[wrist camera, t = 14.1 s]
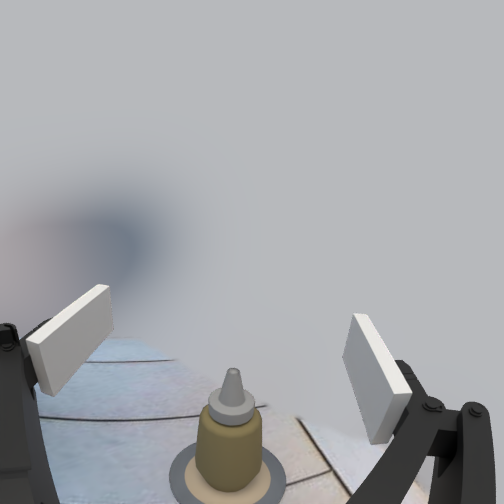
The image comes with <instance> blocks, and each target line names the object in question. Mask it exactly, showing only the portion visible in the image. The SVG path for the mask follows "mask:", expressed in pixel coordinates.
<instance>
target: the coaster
mask: <svg viewBox="0 0 504 504" xmlns="http://www.w3.org/2000/svg"><path fill="white" fill-rule="evenodd" d="M196 444H197V442H196V443H194V444H192V445H190V446H188V447H187V448H185V449H184V450H182V451H181V452H180V453H179V454H178V455H177V457H176V458H175V459H174V461H173V463H172V465H171V468H170V473H169V481H170V486H171V490H172V492H173V495H174V496H175V498H176V500H177V501H178V502H179V504H278V503H279V502H280V500H281V498H282V496H283V494H284V491H285V486H286V476H285V472H284V469H283V467H282V465H281V463H280V462H279V460H278V459H277V458H276V457H275V456H274V455H273V454H272V453H271V452H270V451H268V450H267V449H265V448H264V447H262V465H261V469H260V472H259V473H258V474H257V475H256V476H255V478H254V479H253V480H252V481H251V482H250V483H249V484H248V485H247V486H246V487H245V488H243V489H241V490H239V491H236V492H222V491H218V490H216V489H214V488H213V487H211V486H210V485H209V484H208V483H207V481H206V480H205V479H204V478H203V476H202V475H201V474H200V472H199V471H198V469H197V468H196V463H195V453H196Z"/></svg>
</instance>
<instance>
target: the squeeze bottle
mask: <svg viewBox="0 0 504 504" xmlns="http://www.w3.org/2000/svg"><path fill="white" fill-rule="evenodd" d="M195 463H196V468H197V469H198V471H199V472H200V474H201V475H202V476H203V478H204V479H205V480H206V481H207V483H208V484H209V485H210V486H211V487H213V488H214V489H216V490H218V491H222V492H236V491H239V490H241V489H243V488H245V487H246V486H247V485H248V484H249V483H250V482H251V481H252V480H253V479H254V478H255V476H256V475H257V474H258V473H259V472H260V469H261V465H262V418H261V415H260V412H259V411H258V410H257V409H256V408H255V400H254V397H253V396H252V395H251V394H250V393H249V392H248V391H246V390H244V389H243V386H242V381H241V376H240V371H239V370H238V369H236V368H230V369H228V371H227V374H226V377H225V380H224V383H223V386H222V388H219V389H216V390H215V391H214V392H212V393H211V395H210V397H209V404H208V405H206V406H205V407H204V408H203V410H202V412H201V414H200V418H199V426H198V435H197V444H196V453H195Z"/></svg>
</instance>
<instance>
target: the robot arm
mask: <svg viewBox="0 0 504 504" xmlns="http://www.w3.org/2000/svg"><path fill="white" fill-rule="evenodd" d="M113 330H114V328H113V319H112V308H111V297H110V286H106V285H101V284H98V285H96V286H95V287H94V288H92V289H91V290H89V291H88V292H87V293H85V294H84V295H83V296H81V297H80V298H79V299H77V300H76V301H75V302H73V303H72V304H71V305H70V306H68V307H67V308H65V309H64V310H63V311H61V312H60V313H59V314H58V315H56V316H55V317H54V318H50V319H48V320H46V321H43V322H42V323H41V324H39V325H38V327H36V328H34V329H33V331H30V332H29V333H28V334H26V335H25V336H24V337H23V338H21V339H20V340H19V337H18V333H17V329H16V326H15V325H13V324H10V323H3V324H0V504H60V502H59V499H58V496H57V493H56V489H55V486H54V483H53V479H52V475H51V472H50V468H49V464H48V460H47V455H46V451H45V446H44V441H43V436H42V431H41V426H40V420H39V413H38V407H37V399H36V392H35V389H34V385H35V384H36V383H37V382H38V383H39V386H40V389H41V392H43V393H45V394H48V395H50V396H53V397H55V396H56V395H57V393H58V392H59V391H60V390H61V389H62V387H63V386H64V385H65V384H66V383H67V382H68V381H69V379H70V378H71V377H72V376H73V375H74V374H75V372H76V371H77V370H78V369H79V368H80V367H81V366H82V364H83V363H84V362H85V361H86V360H87V359H88V358H89V356H90V355H91V354H92V353H93V352H94V351H95V350H96V349H97V348H98V346H99V345H100V344H101V343H102V342H103V341H104V340H105V339H106V338H107V336H108V335H109V334H110V333H111V332H112V331H113ZM343 361H344V364H345V366H346V370H347V372H348V375H349V378H350V381H351V384H352V387H353V390H354V394H355V397H356V400H357V403H358V406H359V409H360V412H361V415H362V418H363V422H364V425H365V428H366V431H367V434H368V438H369V441H370V444H371V445H375V444H386V443H388V442H389V440H390V438H391V436H392V434H394V439H393V440H392V442H391V444H390V445H389V446H388V448H387V449H386V451H385V452H384V454H383V455H382V457H381V458H380V460H379V461H378V463H377V464H376V465H375V467H374V468H373V469H372V471H371V472H370V474H369V475H368V476H367V478H366V479H365V480H364V481H363V483H362V484H361V485H360V487H359V488H358V489H357V490H356V492H355V493H354V494H353V495H352V497H351V498H350V499H349V500H348V501H347V503H346V504H401V502H402V500H403V499H404V497H405V495H406V494H407V492H408V490H409V488H410V486H411V485H412V483H413V481H414V479H415V477H416V475H417V474H418V472H419V469H420V468H421V466H422V464H423V462H424V460H425V458H426V456H435V461H434V469H433V476H432V483H431V489H430V495H429V501H428V504H496V483H495V461H494V451H493V450H494V449H493V439H492V431H491V423H490V416H489V412H488V410H487V409H486V408H485V406H483V405H482V404H480V403H477V402H467V403H465V404H464V405H463V407H462V408H461V410H460V411H456V410H448V409H446V408H445V406H444V404H443V403H442V402H441V401H440V400H438V399H436V398H434V397H430V396H428V395H427V394H426V392H425V390H424V389H423V387H422V385H421V384H420V382H419V380H417V377H416V376H415V374H414V372H413V371H412V369H411V367H410V366H409V365H408V364H406V363H405V362H404V361H403V360H394V359H393V357H392V356H391V354H390V352H389V351H388V349H387V347H386V345H385V344H384V342H383V340H382V339H381V337H380V335H379V334H378V332H377V330H376V329H375V327H374V325H373V324H372V322H371V320H370V319H369V317H368V316H367V314H355V313H354V314H353V317H352V321H351V326H350V329H349V333H348V338H347V341H346V346H345V349H344V353H343Z"/></svg>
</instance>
